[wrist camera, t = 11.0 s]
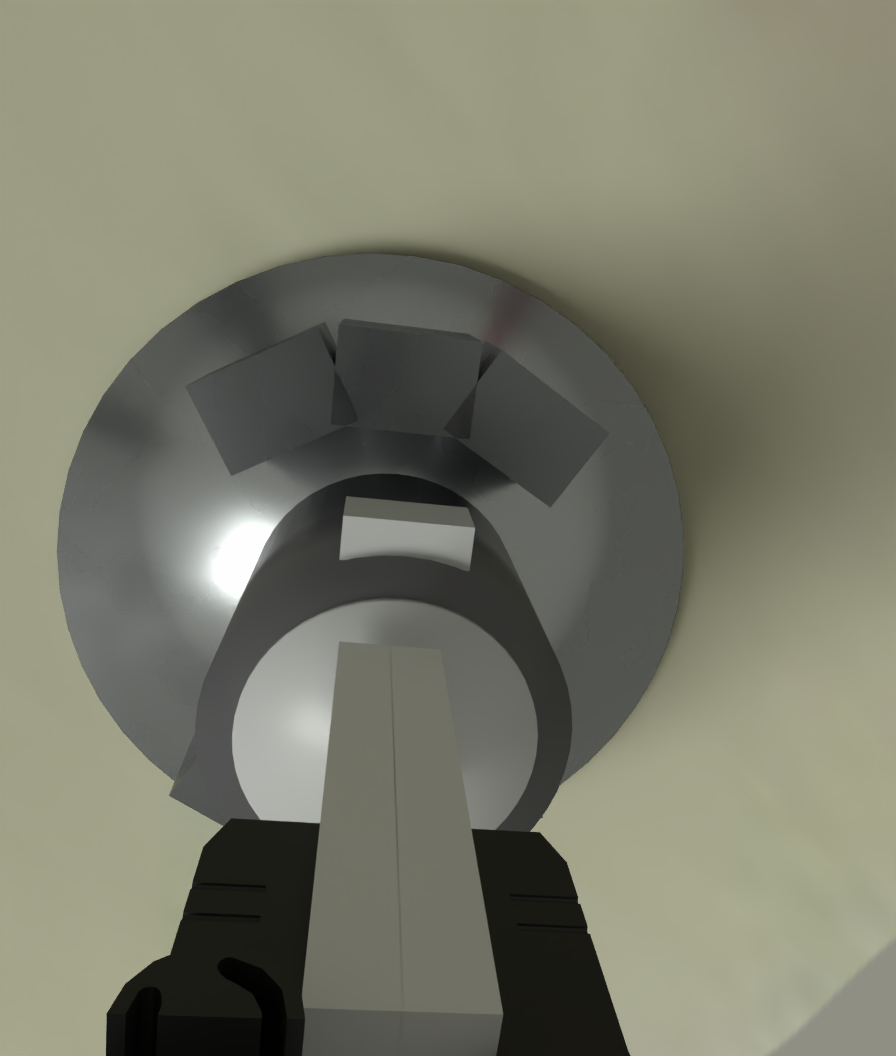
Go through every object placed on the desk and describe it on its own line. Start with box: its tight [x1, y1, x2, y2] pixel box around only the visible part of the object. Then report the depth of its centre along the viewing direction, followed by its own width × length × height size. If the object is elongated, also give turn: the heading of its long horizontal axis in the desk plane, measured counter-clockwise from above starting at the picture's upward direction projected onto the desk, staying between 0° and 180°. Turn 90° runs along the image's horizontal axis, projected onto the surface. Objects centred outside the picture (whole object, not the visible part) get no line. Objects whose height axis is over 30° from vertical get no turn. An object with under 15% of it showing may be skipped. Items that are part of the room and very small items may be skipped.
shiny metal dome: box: [57, 253, 683, 826], centre depth 18 cm, size 14×14×3 cm
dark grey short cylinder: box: [195, 473, 572, 832], centre depth 16 cm, size 7×6×6 cm
